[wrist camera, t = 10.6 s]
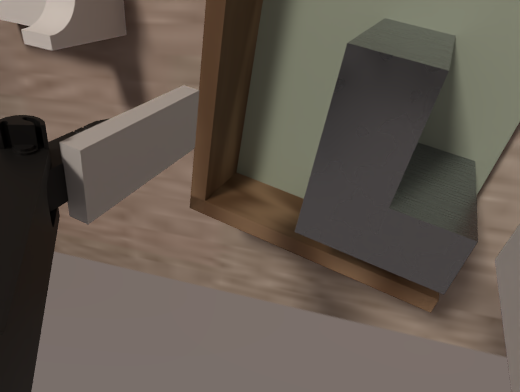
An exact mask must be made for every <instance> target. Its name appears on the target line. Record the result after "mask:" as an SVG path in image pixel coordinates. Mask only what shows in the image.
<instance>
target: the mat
mask: <svg viewBox="0 0 520 392" xmlns="http://www.w3.org/2000/svg"><path fill="white" fill-rule="evenodd" d="M384 18H387V19H391V20H395V21H399V22H403V23H407V24H411V25H415V26H419V27H423V28H427V29H431V30H435V31H439V32H443V33H447V34H451V35H455V41H454V47H453V52H452V58H451V63H450V68H449V72H448V74H447V77H446V79H445V81H444V83H443V86H442V88H441V90H440V93H439V95H438V97H437V99H436V102H435V104H434V106H433V109H432V111H431V113H430V115H429V118H428V120H427V122H426V125H425V127H424V129H423V131H422V134H421V136H420V138H419V141H418V143H421V144H424V145H427V146H430V147H433V148H437V149H440V150H443V151H446V152H449V153H452V154H455V155H458V156H461V157H464V158H467V159H470V160H473V161H475V167H476V196H477V194H478V192H479V191H480V189H481V187H482V185H483V184H484V182H485V180H486V179H487V177H488V175H489V173H490V172H491V170H492V168H493V167H494V165H495V163H496V161H497V160H498V158H499V156H500V155H501V153H502V151H503V149H504V148H505V146H506V144H507V143H508V141H509V139H510V137H511V136H512V134H513V132H514V131H515V129H516V127H517V125H518V124H519V122H520V0H263V3H262V10H261V16H260V23H259V29H258V36H257V42H256V49H255V55H254V62H253V68H252V75H251V81H250V88H249V94H248V101H247V107H246V114H245V120H244V127H243V133H242V140H241V146H240V153H239V159H238V166H237V173H239V174H242V175H245V176H247V177H250V178H252V179H255V180H257V181H260V182H262V183H265V184H267V185H270V186H273V187H275V188H278V189H280V190H283V191H285V192H288V193H290V194H293V195H295V196H298V197H300V198H303V199H304V196H305V192H306V189H307V185H308V182H309V178H310V175H311V171H312V167H313V164H314V160H315V157H316V153H317V150H318V146H319V142H320V139H321V135H322V132H323V128H324V124H325V121H326V117H327V114H328V110H329V107H330V103H331V99H332V96H333V92H334V89H335V85H336V82H337V78H338V74H339V71H340V67H341V64H342V60H343V56H344V53H345V49H346V46H347V43H348V42H349V41H351V40H352V39H354V38H355V37H357V36H359V35H360V34H362V33H363V32H365V31H366V30H368V29H369V28H371V27H372V26H374V25H375V24H377V23H378V22H380V21H381V20H383V19H384Z"/></svg>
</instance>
